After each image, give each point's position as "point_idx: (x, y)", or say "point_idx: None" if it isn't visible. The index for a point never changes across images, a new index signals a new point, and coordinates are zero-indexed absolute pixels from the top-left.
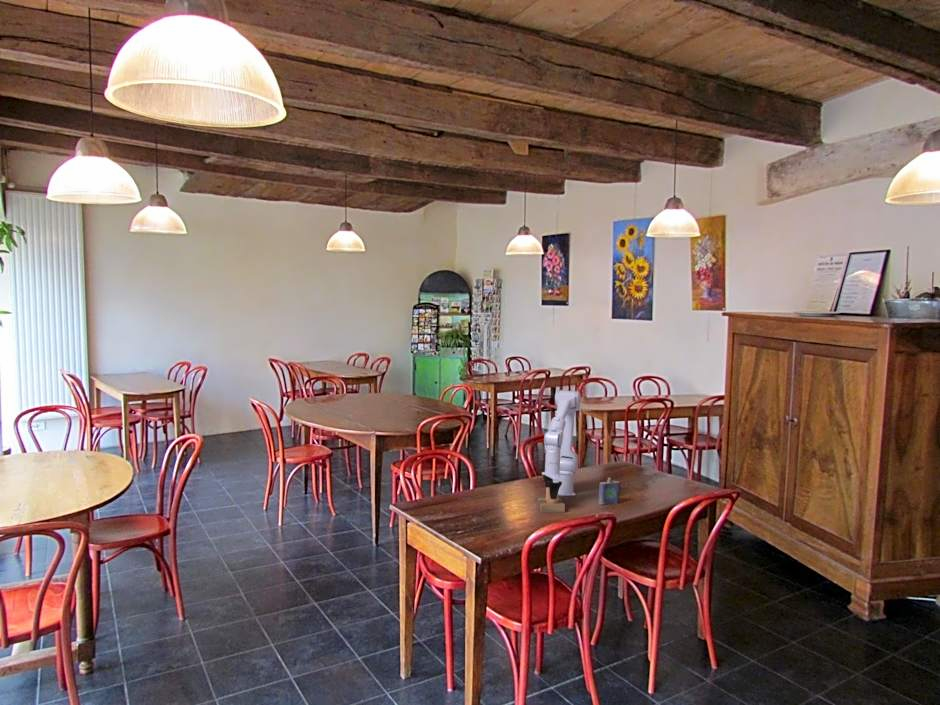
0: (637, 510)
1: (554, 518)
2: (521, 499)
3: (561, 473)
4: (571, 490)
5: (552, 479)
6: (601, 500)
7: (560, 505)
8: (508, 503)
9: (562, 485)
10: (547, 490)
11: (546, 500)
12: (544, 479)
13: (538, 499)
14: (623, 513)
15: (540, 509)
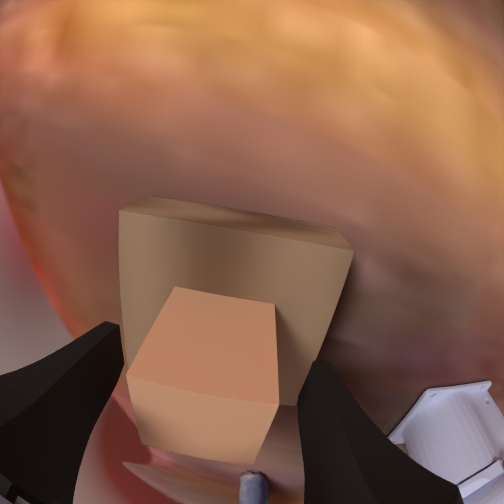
0: (185, 494)
1: (51, 243)
2: (469, 162)
3: (462, 486)
4: (406, 446)
5: (6, 499)
6: (240, 487)
7: (127, 350)
8: (406, 26)
9: (435, 442)
10: (177, 374)
11: (234, 299)
12: (368, 483)
13: (311, 241)
14: (156, 473)
15: (198, 204)
